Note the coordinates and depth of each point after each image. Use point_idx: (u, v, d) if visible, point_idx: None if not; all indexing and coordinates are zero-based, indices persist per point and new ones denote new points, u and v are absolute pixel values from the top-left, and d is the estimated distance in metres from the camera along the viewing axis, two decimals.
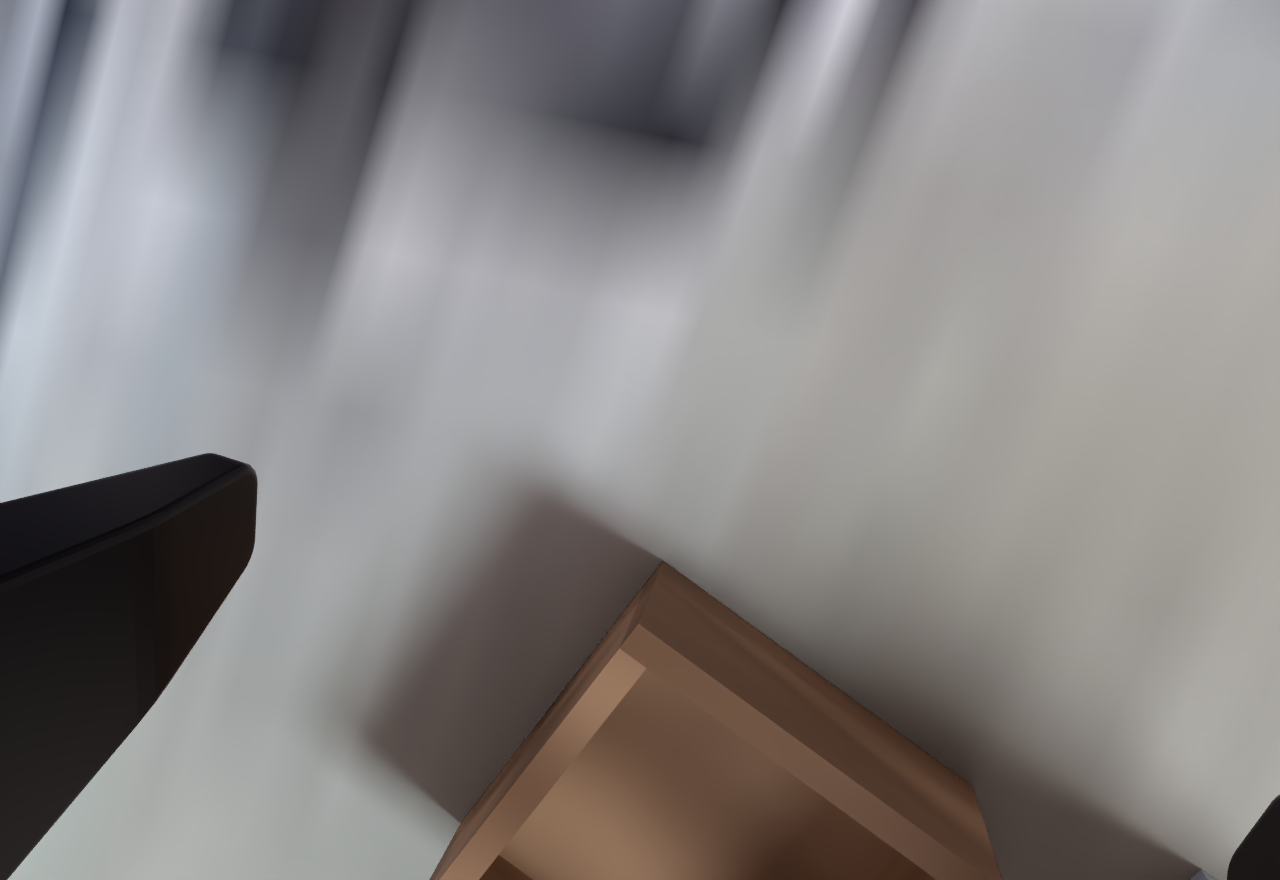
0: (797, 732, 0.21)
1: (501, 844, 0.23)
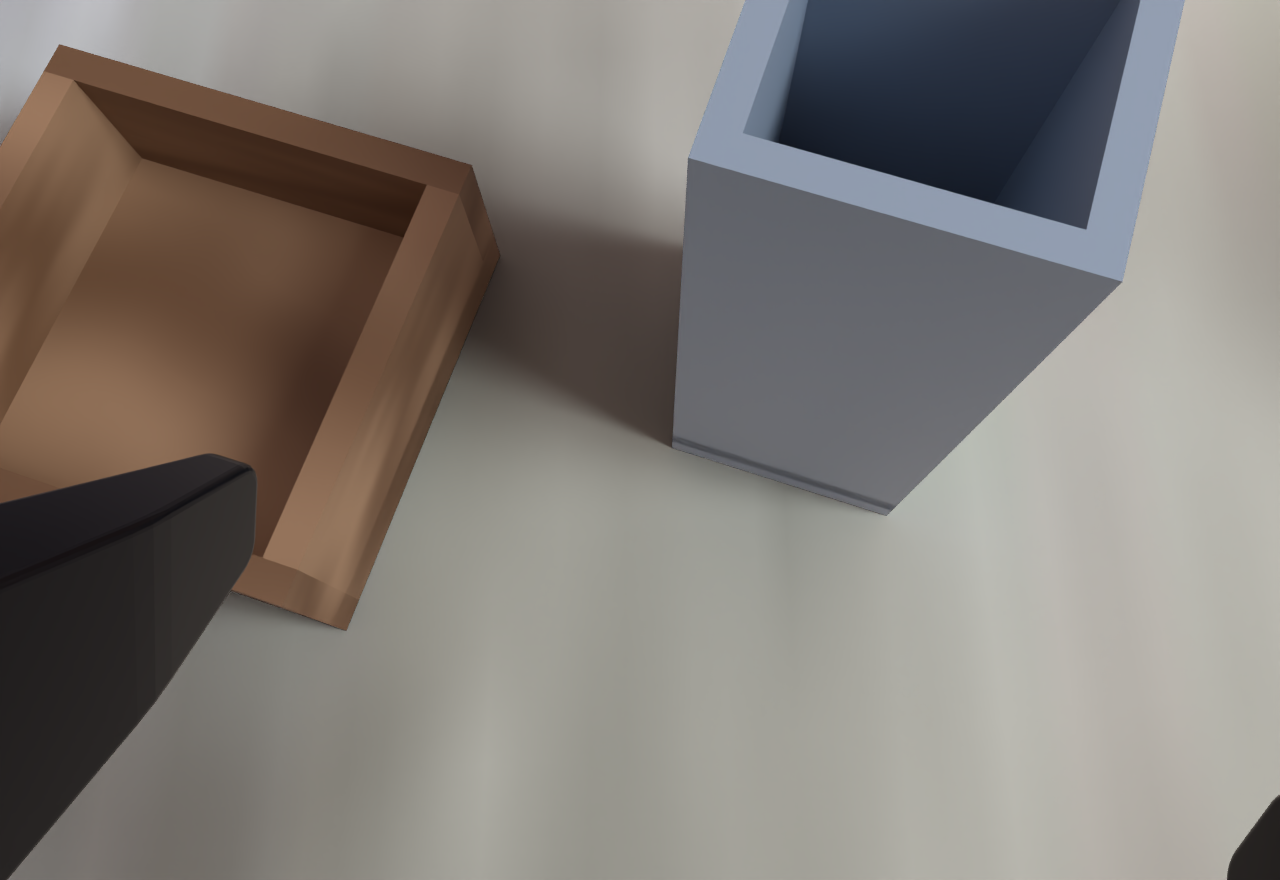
0: (239, 103, 0.22)
1: None
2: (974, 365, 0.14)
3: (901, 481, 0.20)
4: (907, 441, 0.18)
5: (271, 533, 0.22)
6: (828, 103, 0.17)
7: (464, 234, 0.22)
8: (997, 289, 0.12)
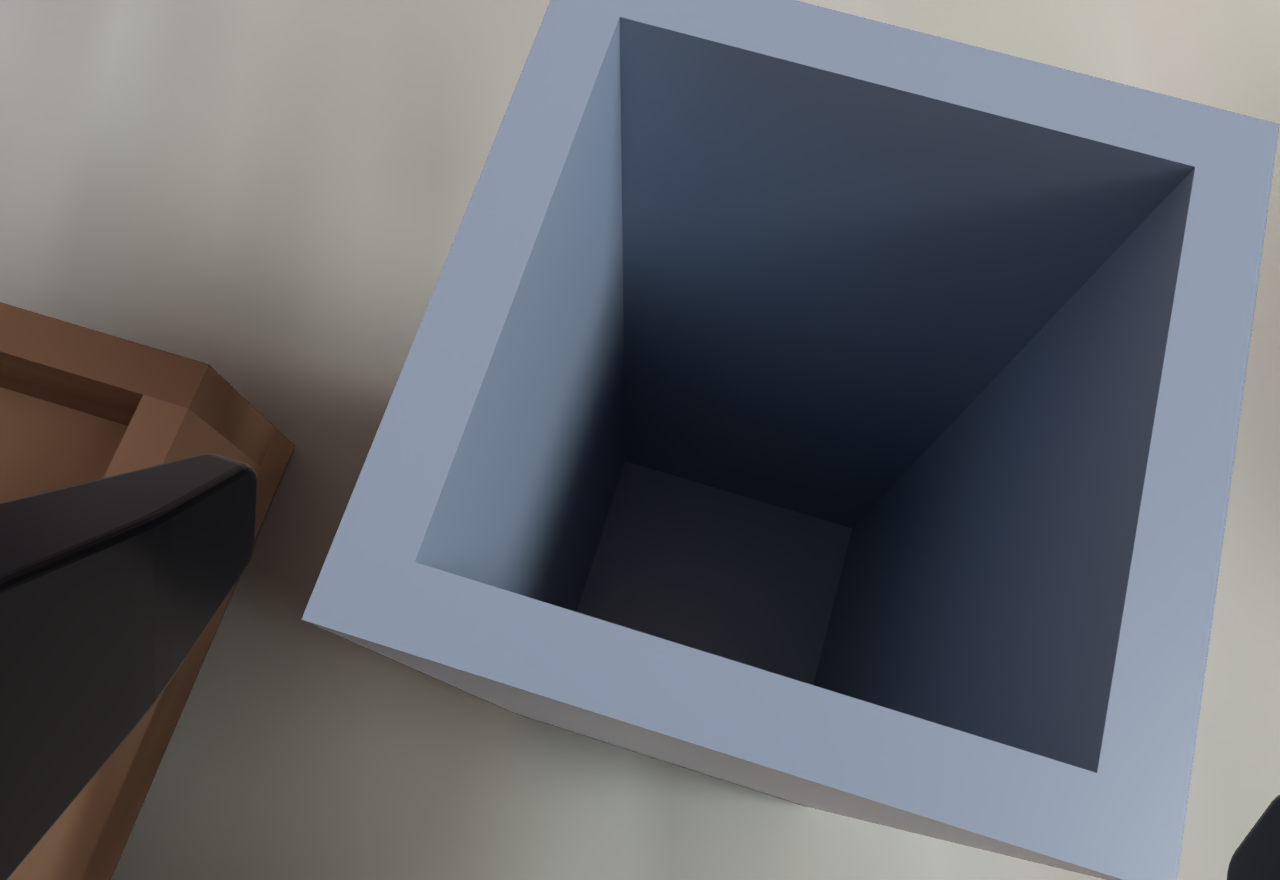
0: None
1: None
2: (899, 822, 0.09)
3: (816, 807, 0.14)
4: (815, 804, 0.12)
5: None
6: (681, 318, 0.11)
7: (212, 450, 0.16)
8: (925, 822, 0.06)
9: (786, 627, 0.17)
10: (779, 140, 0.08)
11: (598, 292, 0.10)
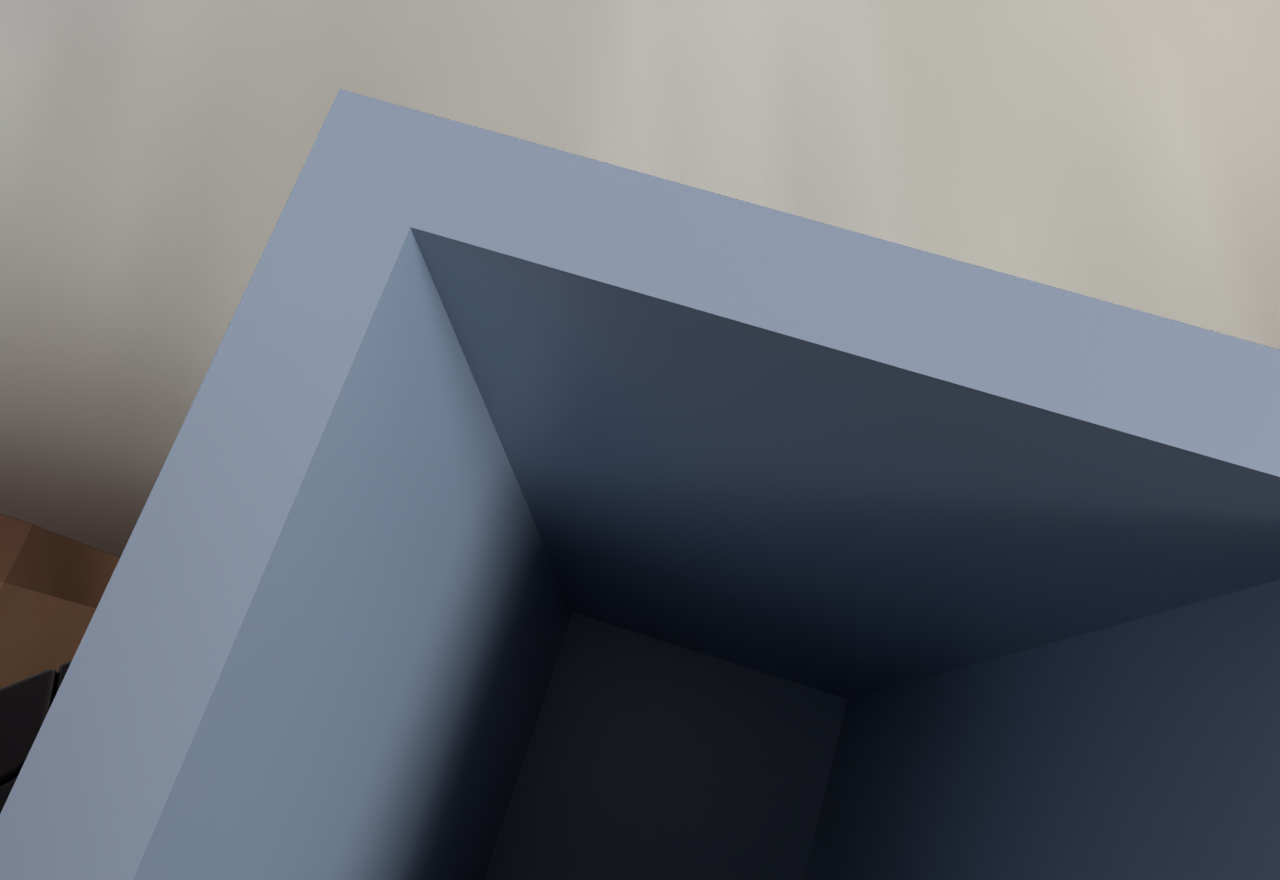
0: None
1: None
2: None
3: None
4: None
5: None
6: (607, 530, 0.08)
7: (49, 620, 0.13)
8: None
9: (766, 826, 0.14)
10: (709, 398, 0.05)
11: (462, 550, 0.07)
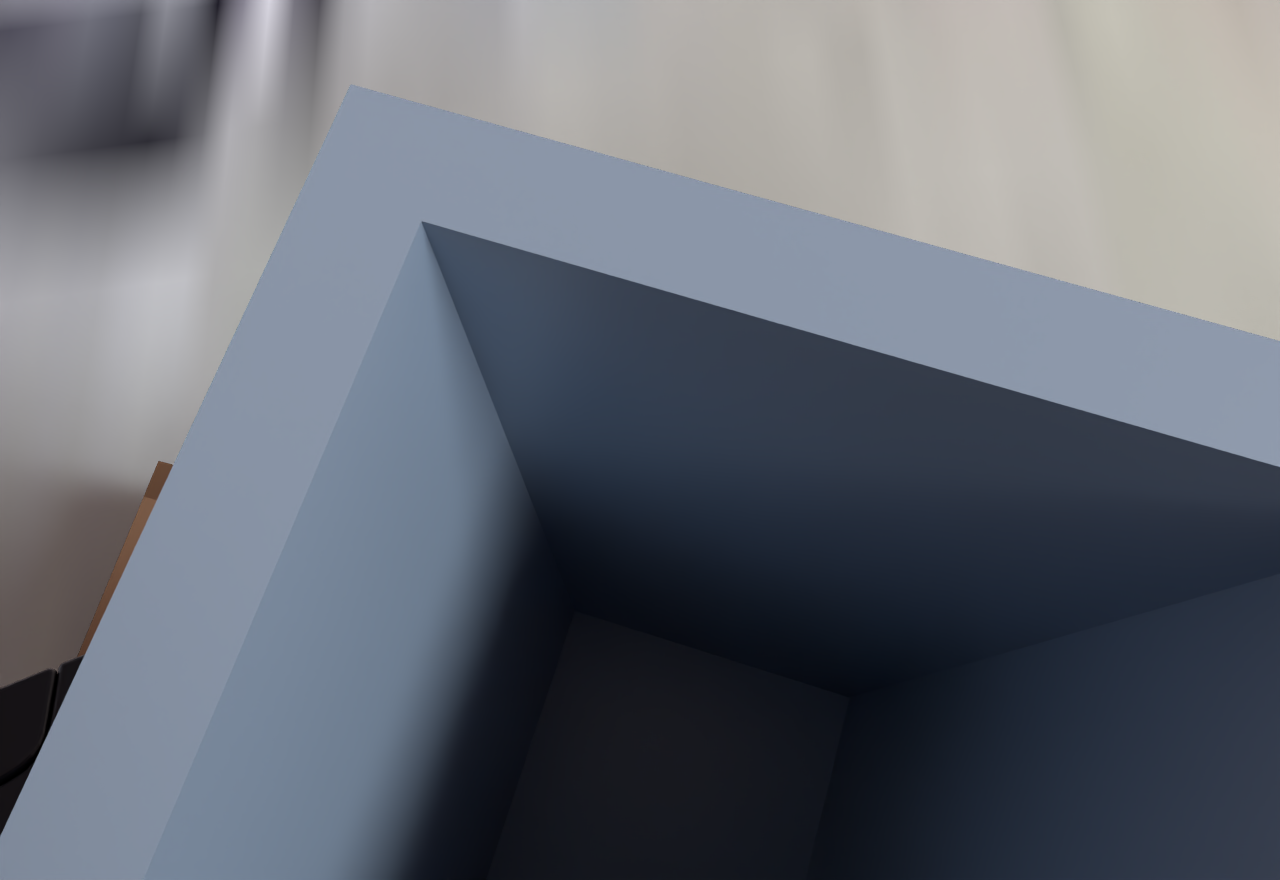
0: None
1: None
2: None
3: None
4: None
5: None
6: (612, 527, 0.08)
7: None
8: None
9: (768, 824, 0.14)
10: (717, 392, 0.05)
11: (468, 545, 0.07)
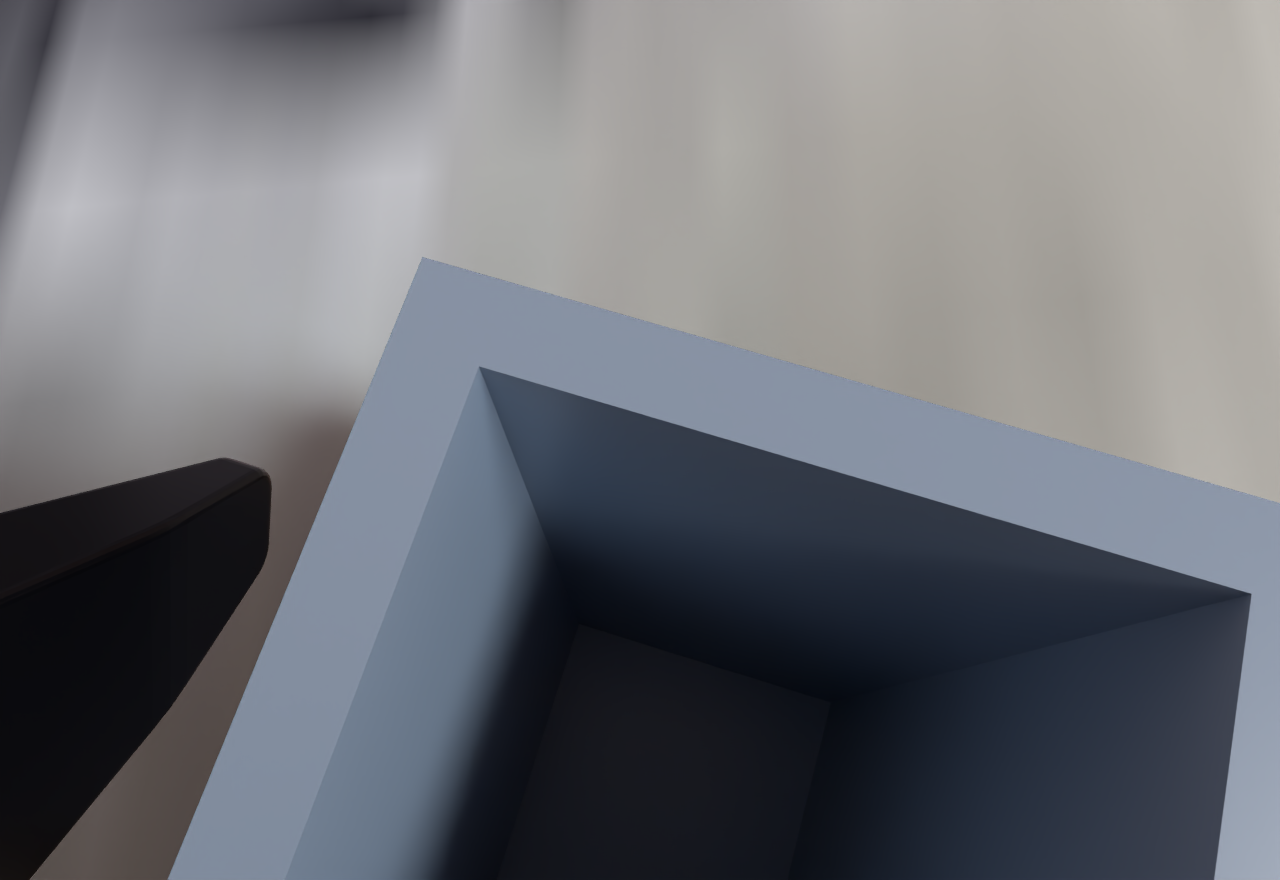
0: None
1: None
2: None
3: None
4: None
5: None
6: (616, 563, 0.10)
7: None
8: None
9: (756, 819, 0.15)
10: (704, 481, 0.06)
11: (499, 588, 0.08)
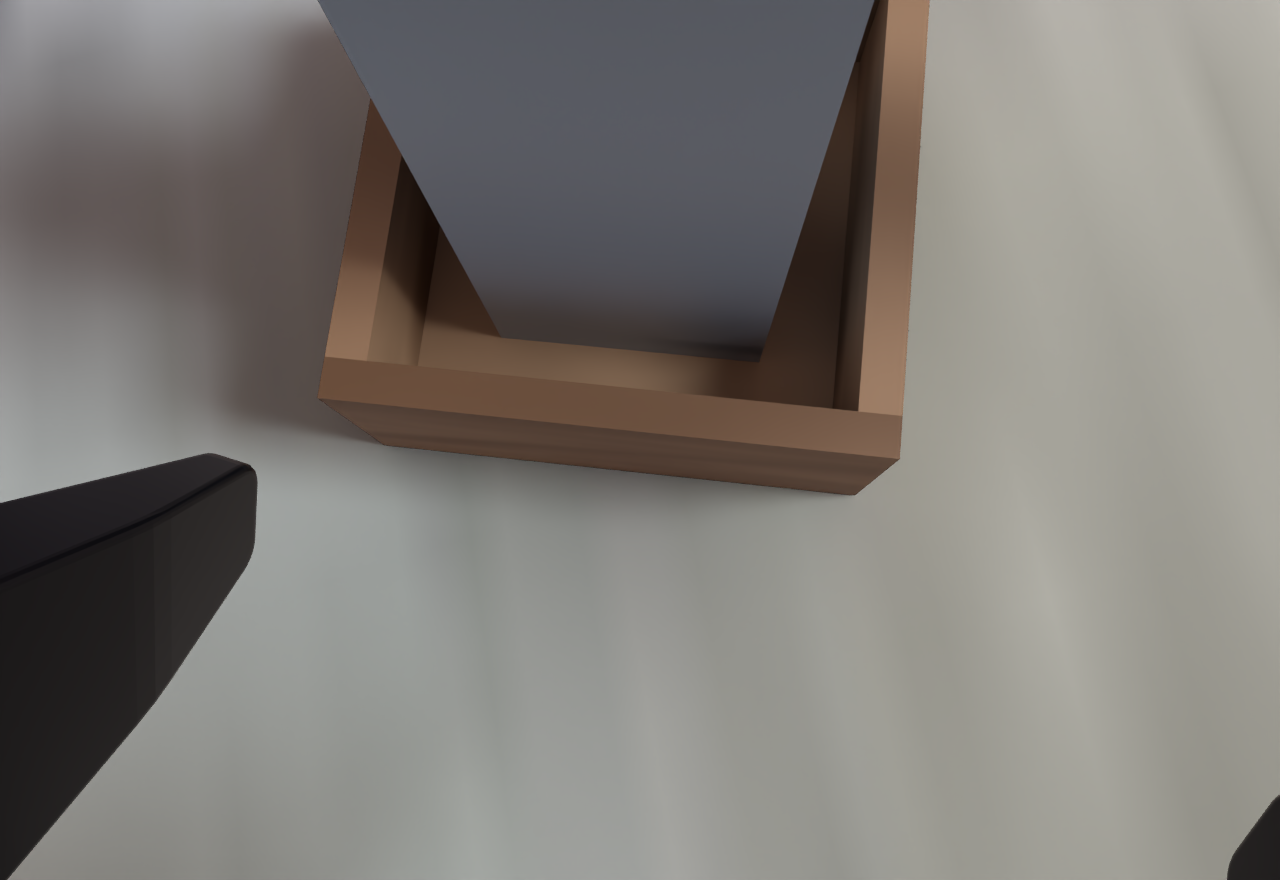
0: None
1: (385, 217, 0.17)
2: (765, 134, 0.11)
3: (755, 316, 0.17)
4: (737, 262, 0.15)
5: None
6: None
7: None
8: (741, 4, 0.09)
9: None
10: None
11: None
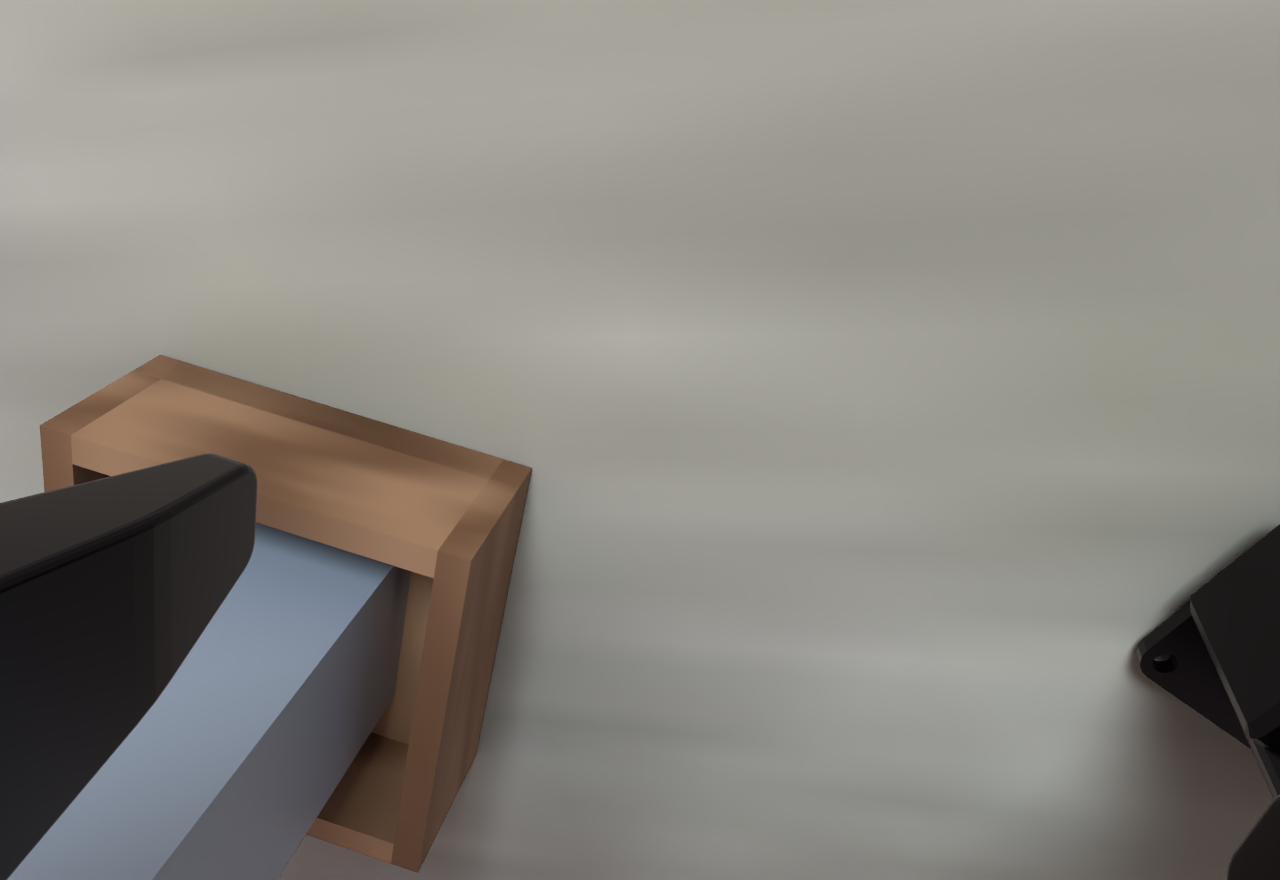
0: None
1: None
2: (194, 853, 0.17)
3: (362, 614, 0.22)
4: (308, 701, 0.20)
5: None
6: None
7: (121, 415, 0.22)
8: None
9: None
10: None
11: None
